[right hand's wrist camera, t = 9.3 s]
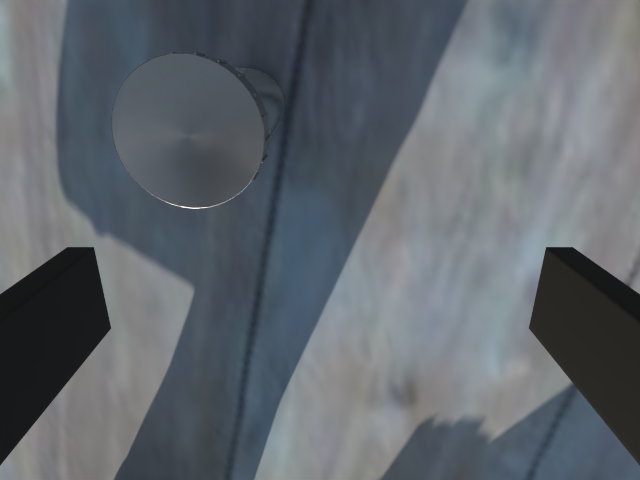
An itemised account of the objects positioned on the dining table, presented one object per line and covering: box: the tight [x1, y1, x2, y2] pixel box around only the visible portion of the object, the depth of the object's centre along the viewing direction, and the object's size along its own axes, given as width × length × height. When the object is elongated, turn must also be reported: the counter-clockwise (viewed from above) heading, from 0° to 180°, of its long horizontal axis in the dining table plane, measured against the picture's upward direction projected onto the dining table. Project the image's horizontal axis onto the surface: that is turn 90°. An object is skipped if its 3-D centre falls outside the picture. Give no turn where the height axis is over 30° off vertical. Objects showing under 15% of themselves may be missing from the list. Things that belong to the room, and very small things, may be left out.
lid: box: [112, 52, 271, 208], centre depth 18 cm, size 6×6×2 cm
